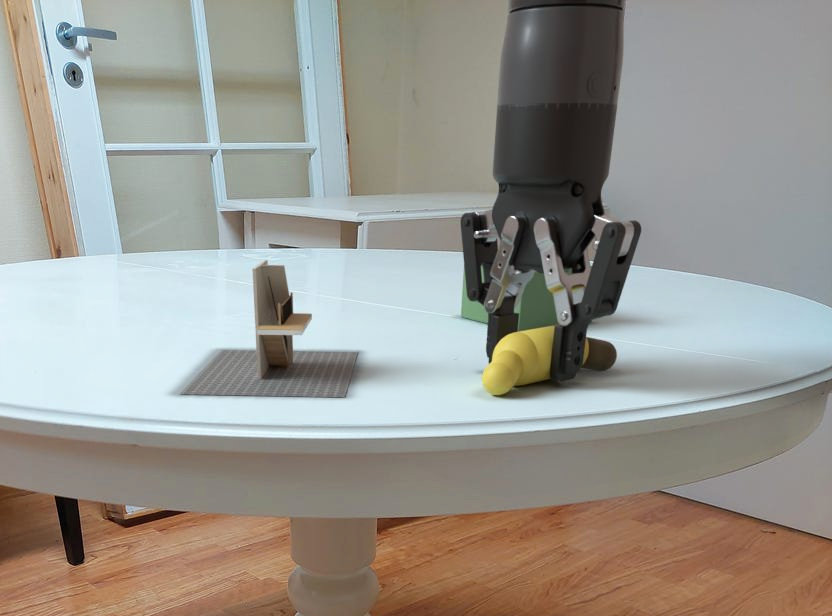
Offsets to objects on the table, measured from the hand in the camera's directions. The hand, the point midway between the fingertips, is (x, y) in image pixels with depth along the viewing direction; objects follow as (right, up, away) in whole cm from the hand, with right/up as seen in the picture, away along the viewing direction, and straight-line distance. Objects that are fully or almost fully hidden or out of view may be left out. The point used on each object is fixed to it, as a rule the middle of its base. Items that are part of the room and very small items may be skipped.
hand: (530, 371), depth 64 cm
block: (+4, +12, +22) cm, 25 cm away
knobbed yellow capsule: (0, 0, 0) cm, 0 cm away
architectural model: (-19, 0, +2) cm, 19 cm away
